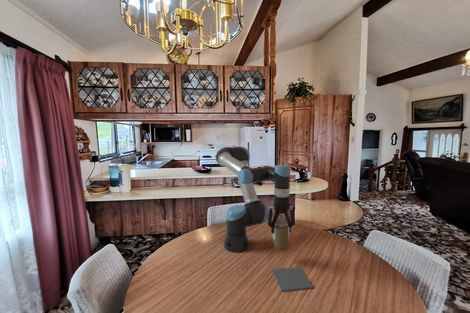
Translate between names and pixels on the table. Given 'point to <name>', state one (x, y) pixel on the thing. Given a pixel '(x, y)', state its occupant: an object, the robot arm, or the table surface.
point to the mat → (291, 279)
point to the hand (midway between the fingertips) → (280, 238)
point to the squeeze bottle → (281, 235)
